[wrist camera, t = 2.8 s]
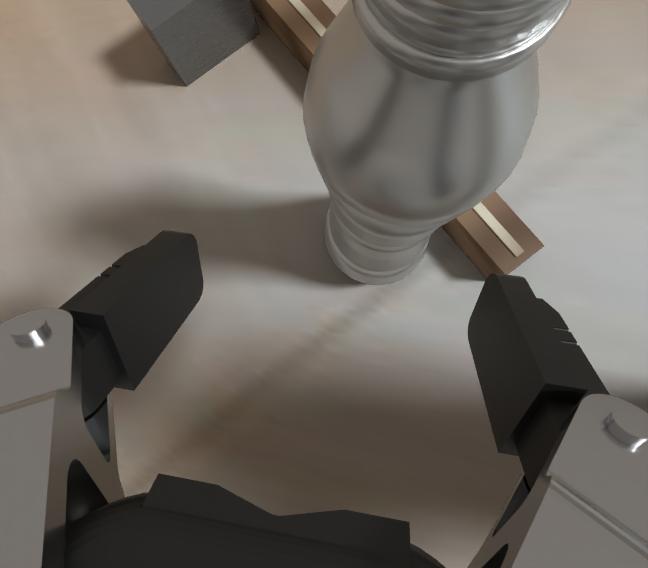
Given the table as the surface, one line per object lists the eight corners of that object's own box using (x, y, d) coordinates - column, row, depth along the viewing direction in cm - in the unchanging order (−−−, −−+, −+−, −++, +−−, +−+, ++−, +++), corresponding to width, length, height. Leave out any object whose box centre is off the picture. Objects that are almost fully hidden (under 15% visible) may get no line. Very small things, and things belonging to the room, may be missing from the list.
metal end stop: (259, 33, 27) (240, -33, 22) (186, 86, 27) (151, 30, 22) (237, 8, 27) (214, -63, 23) (165, 59, 27) (126, -1, 22)
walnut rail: (523, 254, 24) (545, 245, 21) (489, 281, 23) (507, 275, 21) (281, -17, 28) (274, -53, 25) (250, 5, 27) (241, -29, 25)
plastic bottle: (342, 302, 24) (339, 157, 4) (314, 211, 25) (202, -256, 5) (432, 274, 24) (874, -9, 4) (400, 185, 25) (629, -396, 5)
